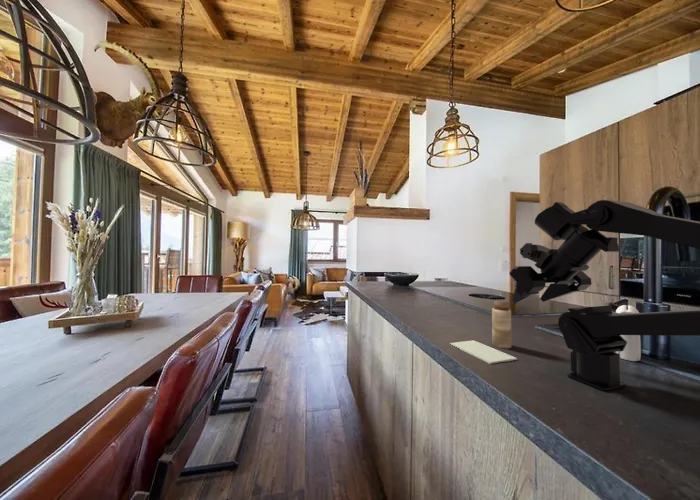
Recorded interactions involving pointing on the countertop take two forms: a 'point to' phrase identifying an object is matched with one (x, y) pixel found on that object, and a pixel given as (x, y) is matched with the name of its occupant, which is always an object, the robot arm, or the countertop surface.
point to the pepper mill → (501, 325)
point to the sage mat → (483, 352)
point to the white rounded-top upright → (630, 338)
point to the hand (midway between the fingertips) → (528, 301)
